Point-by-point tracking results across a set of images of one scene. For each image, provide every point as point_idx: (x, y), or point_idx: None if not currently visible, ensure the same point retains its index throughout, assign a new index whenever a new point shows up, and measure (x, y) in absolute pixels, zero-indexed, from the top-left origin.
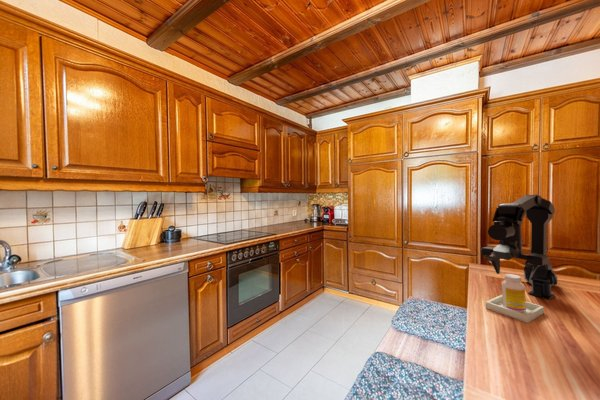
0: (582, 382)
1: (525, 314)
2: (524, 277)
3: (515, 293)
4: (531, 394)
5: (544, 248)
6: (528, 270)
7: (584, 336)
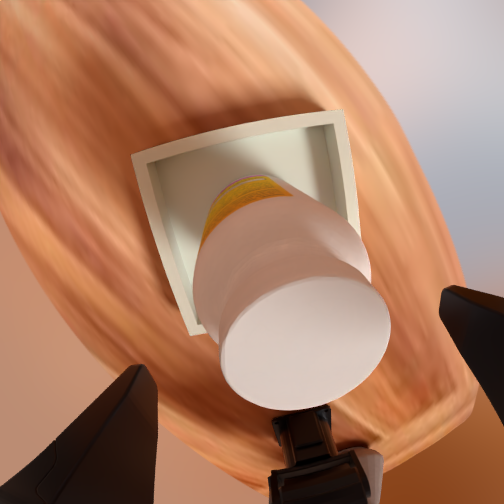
0: None
1: (145, 162)
2: (376, 453)
3: (217, 216)
4: None
5: None
6: (49, 474)
7: (41, 260)
